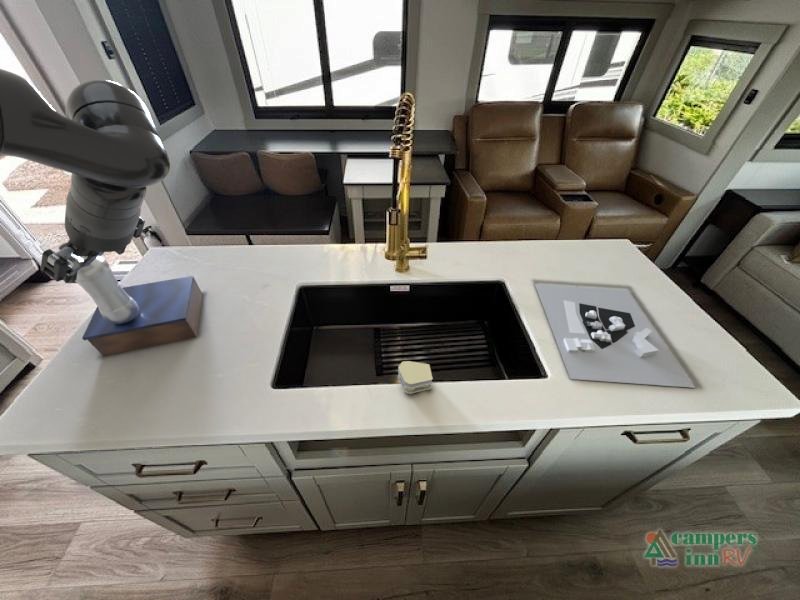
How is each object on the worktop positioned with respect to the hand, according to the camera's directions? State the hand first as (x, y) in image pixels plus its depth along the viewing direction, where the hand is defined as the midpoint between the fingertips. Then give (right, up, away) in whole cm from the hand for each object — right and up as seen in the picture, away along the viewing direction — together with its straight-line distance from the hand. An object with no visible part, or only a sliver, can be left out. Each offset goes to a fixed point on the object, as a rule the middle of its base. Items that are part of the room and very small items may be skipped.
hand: (93, 263), depth 56 cm
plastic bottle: (-11, -11, +20) cm, 26 cm away
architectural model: (+109, -14, +33) cm, 114 cm away
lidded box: (-10, -13, +29) cm, 33 cm away
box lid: (-10, -8, +24) cm, 27 cm away
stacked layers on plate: (+56, -26, +18) cm, 64 cm away
